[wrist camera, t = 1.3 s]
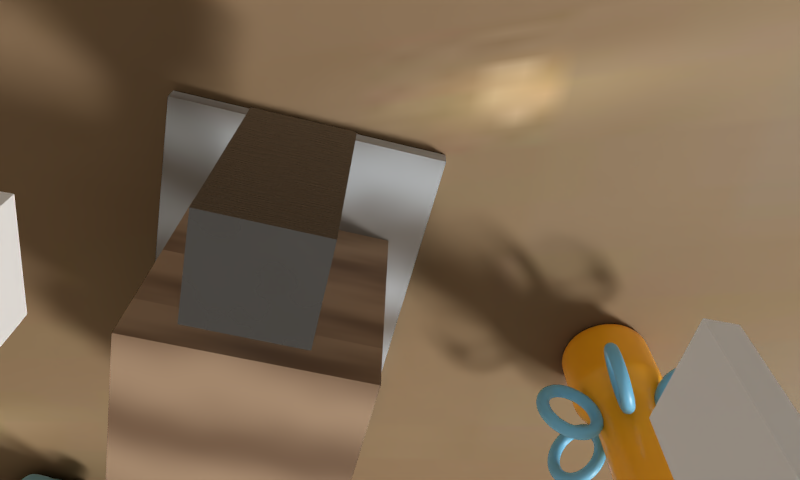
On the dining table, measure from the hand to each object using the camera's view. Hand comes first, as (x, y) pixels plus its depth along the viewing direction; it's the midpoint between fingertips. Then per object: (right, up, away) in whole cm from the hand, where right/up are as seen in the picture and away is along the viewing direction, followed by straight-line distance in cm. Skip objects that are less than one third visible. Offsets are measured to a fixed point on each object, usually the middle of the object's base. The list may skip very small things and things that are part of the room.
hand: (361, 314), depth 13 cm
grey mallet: (-7, -4, +25) cm, 26 cm away
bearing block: (-7, -2, +32) cm, 33 cm away
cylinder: (+15, -7, +35) cm, 38 cm away
